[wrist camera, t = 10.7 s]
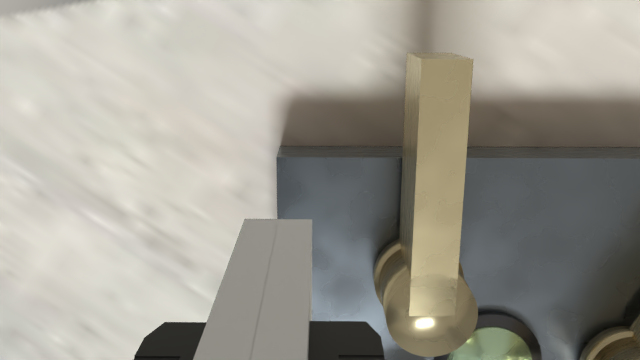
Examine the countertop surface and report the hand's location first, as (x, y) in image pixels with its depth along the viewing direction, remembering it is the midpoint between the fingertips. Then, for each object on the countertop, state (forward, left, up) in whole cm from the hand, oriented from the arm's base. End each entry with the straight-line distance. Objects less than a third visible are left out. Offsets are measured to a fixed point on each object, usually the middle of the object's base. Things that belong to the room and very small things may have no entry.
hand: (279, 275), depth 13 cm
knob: (+6, -3, -15) cm, 17 cm away
